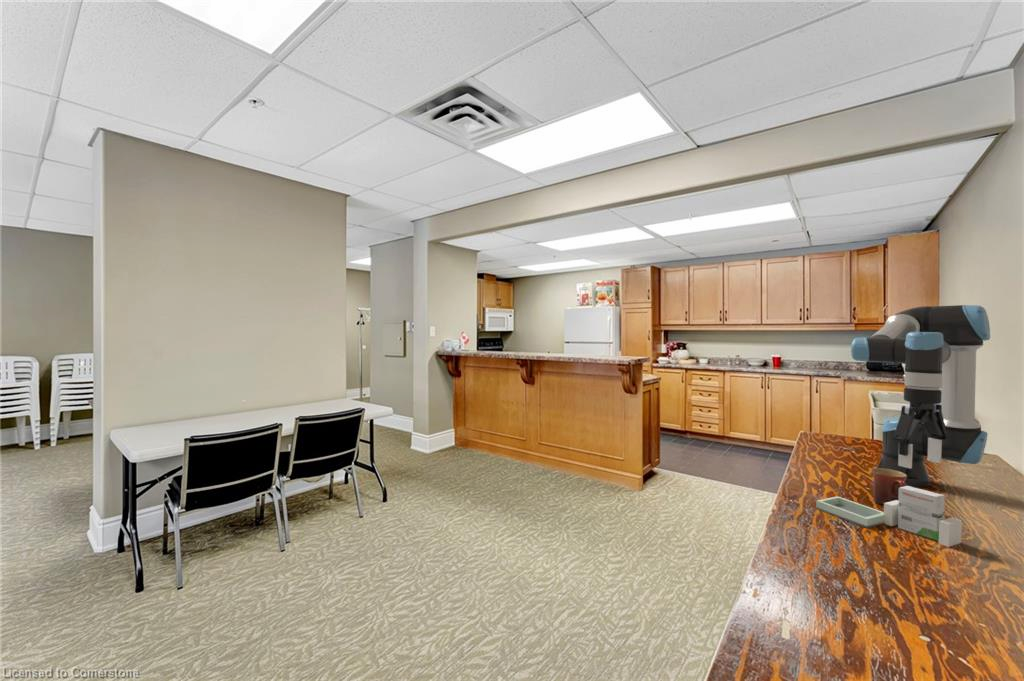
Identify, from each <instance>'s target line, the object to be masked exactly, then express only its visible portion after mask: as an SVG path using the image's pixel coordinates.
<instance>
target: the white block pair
mask: <svg viewBox="0 0 1024 681" xmlns="http://www.w3.org/2000/svg"><path fill="white" fill-rule="evenodd" d="M883 512H884V524H883V525H887V526H889V527H895V526H898V500H895V501H890V502H886V503H884V505H883ZM962 524H963V520H961V519H958V518H955V517H949V518H945V519H944V520H941V521H939V540H938V541H937V542H938V543H937V544H939V545H941V546H945V547H947V548H949V547H953V546H956V545H959V544H961V543H962V529H963V528H962Z"/></svg>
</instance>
